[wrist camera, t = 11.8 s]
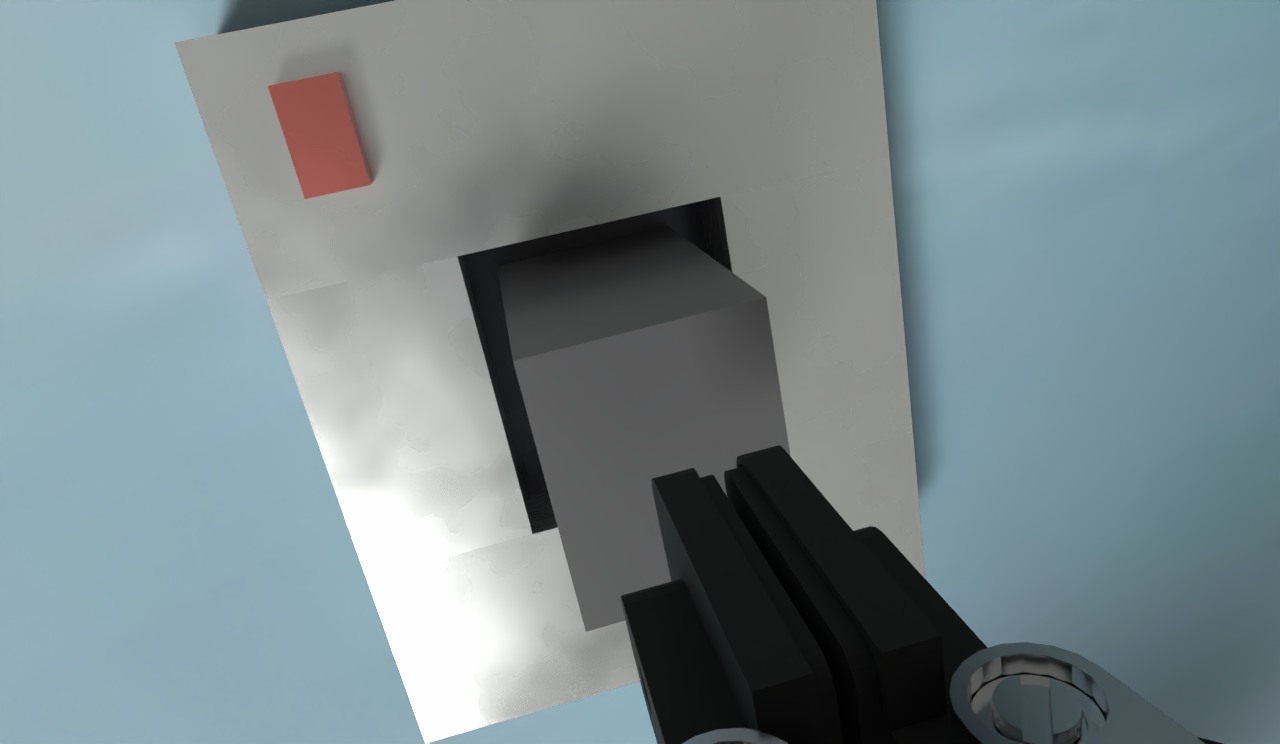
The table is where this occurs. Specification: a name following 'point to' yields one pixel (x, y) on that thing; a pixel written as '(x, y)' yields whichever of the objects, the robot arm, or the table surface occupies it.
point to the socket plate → (538, 225)
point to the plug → (635, 393)
